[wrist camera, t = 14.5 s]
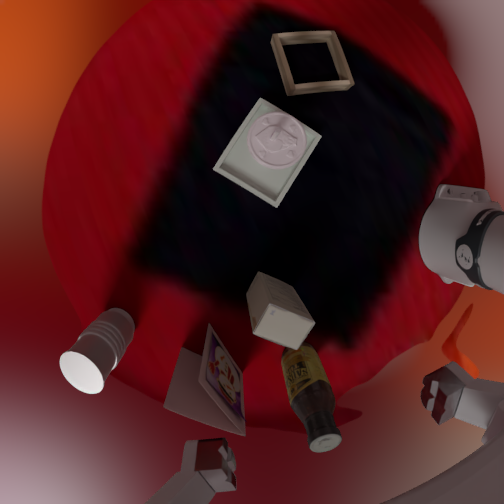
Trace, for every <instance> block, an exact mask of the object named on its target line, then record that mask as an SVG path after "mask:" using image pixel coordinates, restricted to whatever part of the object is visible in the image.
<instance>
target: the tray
mask: <svg viewBox="0 0 504 504" xmlns="http://www.w3.org/2000/svg"><path fill="white" fill-rule="evenodd" d="M268 112H284V111H282V110H281V109H279V108H277V107H276V106H274V105H272V104H271V103H269V102H267V101H266V100H264V99H262V98H260V99H259V100H258V101H257V103H256V104H255V106H254V107H253V109H252V110H251V111H250V113H249V114H248V116H247V117H246V119H245V120H244V122H243V123H242V125H241V126H240V128H239V129H238V131H237V132H236V134H235V135H234V137H233V138H232V140H231V141H230V143H229V144H228V146H227V148H226V149H225V151H224V152H223V154H222V155H221V157H220V159H219V160H218V162H217V163H216V165H215V167H214V168H213V170H214V171H216V172H218V173H220V174H221V175H223V176H225V177H226V178H228V179H230V180H231V181H233V182H235V183H236V184H238V185H240V186H241V187H243V188H245V189H246V190H248V191H250V192H251V193H253V194H255V195H256V196H258V197H259V198H261V199H263V200H264V201H266V202H268V203H269V204H271V205H272V206H274V207H276V208H277V207H278V205H279V204H280V202H281V201H282V199H283V197H284V196H285V194H286V193H287V191H288V189H289V188H290V186H291V185H292V183H293V181H294V180H295V178H296V177H297V175H298V173H299V172H300V170H301V169H302V167H303V165H304V164H305V162H306V161H307V159H308V157H309V156H310V154H311V153H312V151H313V150H314V148H315V146H316V145H317V143H318V142H319V140H320V138H321V137H322V136H321V135H319V134H318V133H316V132H315V131H313V130H312V129H311V128H309V127H308V126H306V125H304V124H303V123H301V122H300V121H299V122H300V123H301V125H302V126H303V128H304V130H305V132H306V137H307V146H306V150H305V152H304V154H303V156H302V157H301V158H300V160H299V161H297V162H296V163H295V164H294V165H292V166H290V167H288V168H284V169H271V168H267V167H265V166H263V165H261V164H259V163H258V162H257V161H256V160H255V159H254V158H253V157H252V155H251V154H250V152H249V149H248V146H247V135H248V131H249V129H250V127H251V125H252V123H253V122H254V121H255V120H256V119H257V118H258V117H260V116H261V115H263V114H265V113H268ZM284 113H286V112H284Z"/></svg>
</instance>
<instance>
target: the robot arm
mask: <svg viewBox="0 0 504 504" xmlns="http://www.w3.org/2000/svg"><path fill="white" fill-rule="evenodd" d="M447 191H448V192H447ZM419 248H420V253H421V256H422V259H423V261H424V263H425V265H426V266H427V267H428V268H429V269H430V270H431V271H433V272H435V273H437V274H439V275H440V277H441V279H442V280H443V282H445V283H447V284H450V283H452V282H453V281H455V282H458V283H461V284H464V285H467V286H470V287H472V286H474V285H475V284H476V285H478V286H479V287H482V288H485V289H488V290H493V289H494V290H496V291H498V292H500V293H502V294H504V211H502V208H501V206H500V204H499V203H498V202H494V201H491V199H490V196H489V194H488V192H487V190H484V189H479V188H471V187H464V186H456V185H447V184H440V185H439V186H438V189H437V191H436V195H435V199H434V200H433V202H432V203H431V205H430V206H429V207H428V209H427V211H426V213H425V214H424V217H423V219H422V223H421V226H420V232H419ZM423 384H424V387H423V389H422V391H421V401H422V404H423V406H424V407H425V408H426V409H427V410H430V411H432V414H431V416H432V418H433V419H434V420H435V421H436V423H437V424H438V425H440V424H442V423H444V422H445V421H447V420H449V419H451V418H453V417H454V416H455V418H457V419H460V420H462V421H465V422H468V423H470V424H473V425H475V426H478V427H481V428H484V429H486V431H485V433H484V435H483V437H482V442H483V443H484V445H483V446H481V447H480V448H479V449H477V450H476V451H475V452H473V453H472V454H470V455H469V456H468V457H466V458H465V459H463V460H462V461H460V462H459V463H457V464H456V465H454V466H452V467H451V468H449V469H448V470H446V471H444V472H443V473H441V474H439V475H437V476H436V477H434V478H432V479H430V480H429V481H427V482H425V483H423V484H421V485H419V486H417V487H415V488H413V489H411V490H409V491H407V492H405V493H403V494H401V495H399V496H397V497H395V498H392V499H390V500H387V501H385V502H383V503H380V504H504V383H501V382H494V381H489V380H484V379H478V378H477V379H474V378H472V377H471V376H470V375H469V374H468V373H467V372H466V371H465V370H464V369H462V368H461V367H460V366H459V365H458V364H457V363H456V362H453V361H452V362H450V363H449V364H447V365H445V366H443V367H441V368H439V369H437V370H436V371H434V372H432V373H430V374H428V375H426V376H425V377H424V378H423ZM235 469H236V462H235V457H234V454H233V452H232V450H231V448H229V447H228V442H227V440H226V439H225V438H216V439H203V440H191V441H186V443H185V448H184V453H183V460H182V466H181V472H177V473H176V474H175V475H174V476H173V477H172V478H171V479H170V480H169V481H168V482H167V483H166V484H165V485H164V486H163V487H162V488H161V489H160V490H159V491H157V492H156V493H155V494H154V495H153V496H152V497H151V498H150V499H149V500H148V501H147V502H146V503H145V504H208V503H209V502H210V501H211V499H212V498H213V496H214V495H215V492H224V491H233V490H236V476H235V475H234V473H233V472H234V470H235Z"/></svg>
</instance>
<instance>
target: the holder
mask: <svg viewBox="0 0 504 504" xmlns="http://www.w3.org/2000/svg"><path fill="white" fill-rule="evenodd" d="M321 42H327V45H328V48H329V50H330V53H331V55H332V58H333V61H334V64H335V67H336V69H337V72H338V75H339V78H340V80H339V81H325V82H313V83H304V84H295V85H294V81H293V78H292V75H291V72H290V69H289V65H288V62H287V59H286V56H285V53H284V50H283V47H282V45H289V44H302V43H321ZM271 46H272V49H273V52H274V55H275V58H276V61H277V64H278V67H279V70H280V74H281V77H282V80H283V83H284V87H285V90H286V94H287V96H292V95H299V94H307V93H316V92H326V91H338V90H348V89H349V88H350V87H351V86H353V85H354V81H353V78H352V75H351V72H350V69H349V66H348V64H347V61H346V58H345V56H344V53H343V50H342V48H341V45H340V43H339V40H338V38H337V35H336V33H335V31H305V32H289V33H278V34H273V36H272V40H271Z"/></svg>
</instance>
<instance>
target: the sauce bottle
mask: <svg viewBox="0 0 504 504" xmlns="http://www.w3.org/2000/svg"><path fill="white" fill-rule="evenodd" d="M281 364H282V369H283V374H284V378H285V383H286V387H287V392H288V396H289V401H290V405H291V408H292V409H293V410H294V412H295V413H296V414H297V416H298V417H299V418H300V420H301V421H302V422H303V423H304V426H305V428H306V431H307V435H308V444H309V448H310V449H311V450H312V451H314V452H325V451H328V450H331V449H333V448H335V447H336V446H338V444H339V443H340V442H341V440H342V437H341V434H340V431H339V429H338V428H336V425H335V422H334V418H333V415H332V414H333V412H334V408H335V397H334V394H333V392H332V388H331V385H330V383H329V380H328V378H327V376H326V373H325V371H324V368H323V366H322V364H321V361H320V359H319V356H318V354H317V352H316V351H315V349H314V348H313V347H312V346H311V345H310V344H309V343H306V342H302V344H301V345H300V347H299V348H298V349H297V350H295V349H292V348H289V347H287V348H286V349H285V350H284V351H283V354H282V362H281Z"/></svg>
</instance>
